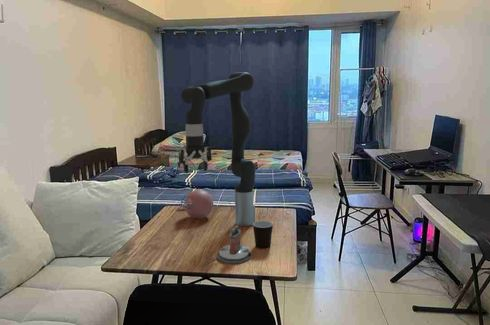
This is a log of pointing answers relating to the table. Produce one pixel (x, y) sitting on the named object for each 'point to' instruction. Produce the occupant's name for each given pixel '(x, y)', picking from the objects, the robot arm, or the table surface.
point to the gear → (183, 199)
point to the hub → (233, 259)
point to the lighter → (235, 240)
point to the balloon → (198, 204)
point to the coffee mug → (262, 234)
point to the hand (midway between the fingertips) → (195, 171)
